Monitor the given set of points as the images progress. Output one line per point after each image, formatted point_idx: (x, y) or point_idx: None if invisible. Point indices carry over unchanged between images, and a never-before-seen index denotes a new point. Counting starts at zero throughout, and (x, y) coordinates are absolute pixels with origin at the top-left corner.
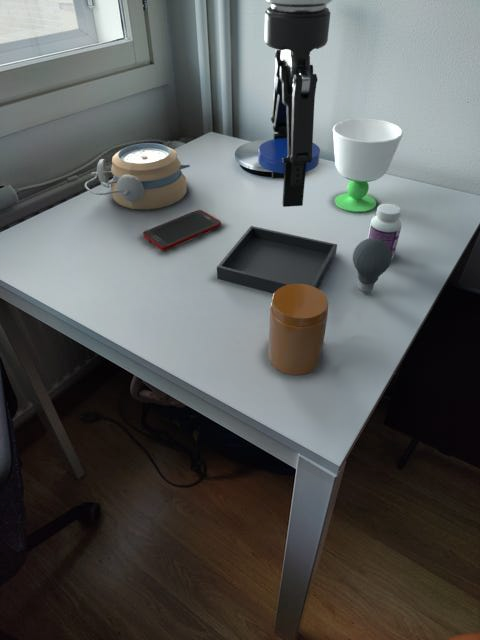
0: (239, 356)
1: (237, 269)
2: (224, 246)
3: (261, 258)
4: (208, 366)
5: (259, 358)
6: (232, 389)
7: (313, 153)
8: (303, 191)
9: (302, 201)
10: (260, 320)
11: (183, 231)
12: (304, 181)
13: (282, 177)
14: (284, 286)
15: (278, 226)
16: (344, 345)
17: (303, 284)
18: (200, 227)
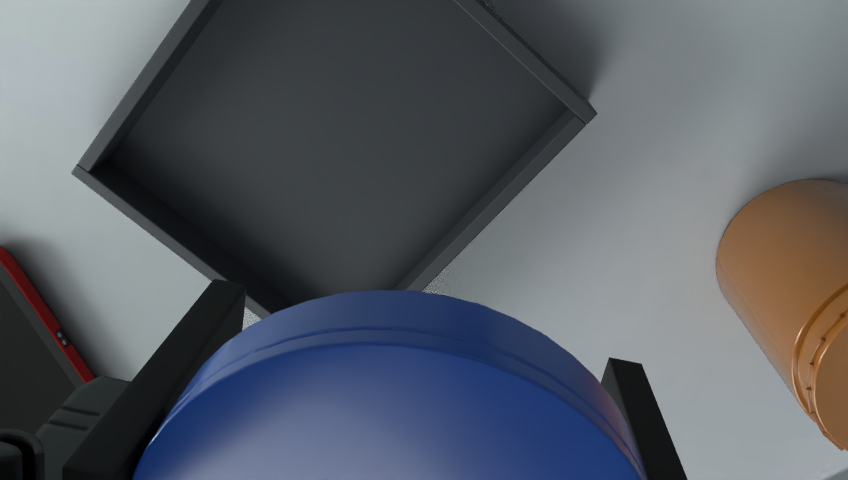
0: (722, 393)
1: (322, 283)
2: (148, 271)
3: (274, 180)
4: (719, 470)
5: (757, 349)
6: (826, 443)
7: (560, 453)
8: (663, 421)
9: (647, 381)
10: (601, 292)
11: (46, 392)
12: (680, 466)
13: (241, 330)
14: (816, 396)
15: (23, 9)
16: (840, 85)
17: (844, 328)
18: (23, 332)
